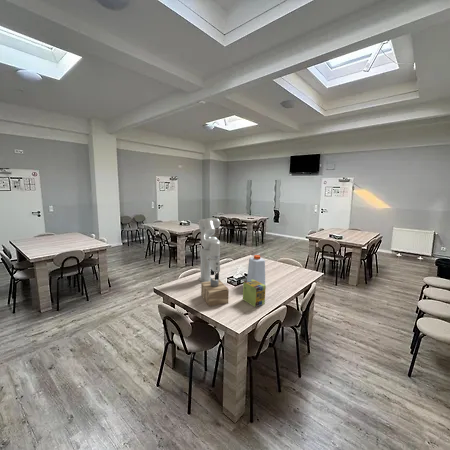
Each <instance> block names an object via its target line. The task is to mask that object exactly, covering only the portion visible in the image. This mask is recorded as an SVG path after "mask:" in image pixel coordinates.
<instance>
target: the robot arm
mask: <svg viewBox="0 0 450 450" xmlns="http://www.w3.org/2000/svg"><path fill="white" fill-rule="evenodd" d="M220 225H221V221H220V219H219V218H218V217H216V218H215V217H211V218H210V217H209V218H208V217H207V218H201V219H199V220H198V228H199V231H200V244H201V246H202V247H203V248H201V249H200V250H199V257H200V277H199V278H198V280H199V282H201V283H202V282H208V281H210V280H211V279H212V278H213V277H211V276H214V278H215V280H220V279H219V278H220V272H221V265H220V264H221V261H220V260H221V259H220V258H221V241H220V240H219V239H218V238H217V236H213V235H215V233H216V229H217V228H219V227H220Z"/></svg>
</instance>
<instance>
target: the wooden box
mask: <svg viewBox="0 0 450 450" xmlns="http://www.w3.org/2000/svg"><path fill="white" fill-rule="evenodd" d="M200 286H201V287H200V288H201V289H200V294H201V297H202V298H203V301H204V302H206V304H207V306H208V307H214V306H220V305H226V304H229V290H224V291H219V292H214V293H209V292H208V291H207V290H206V289H205V287H204V286H203V285H202V284H200Z"/></svg>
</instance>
